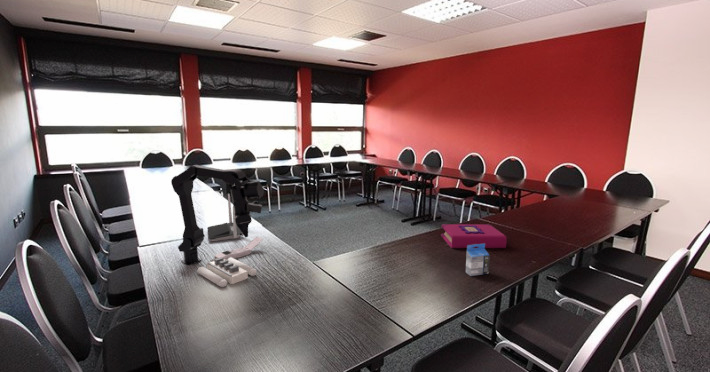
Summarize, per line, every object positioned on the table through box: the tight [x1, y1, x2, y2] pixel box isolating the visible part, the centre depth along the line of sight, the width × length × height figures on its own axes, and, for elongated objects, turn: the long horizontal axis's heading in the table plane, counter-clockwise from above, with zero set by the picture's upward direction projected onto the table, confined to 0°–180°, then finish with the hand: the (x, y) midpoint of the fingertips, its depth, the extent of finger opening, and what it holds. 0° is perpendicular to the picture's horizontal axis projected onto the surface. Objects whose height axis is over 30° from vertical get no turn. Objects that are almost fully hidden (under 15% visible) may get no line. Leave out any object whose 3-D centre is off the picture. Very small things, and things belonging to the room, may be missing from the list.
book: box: [440, 223, 508, 249], centre depth 179 cm, size 21×28×8 cm
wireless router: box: [206, 193, 248, 242], centre depth 188 cm, size 34×23×20 cm
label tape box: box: [465, 244, 491, 277], centre depth 140 cm, size 9×4×12 cm, turn 105°
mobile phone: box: [210, 236, 264, 262], centre depth 158 cm, size 6×6×25 cm
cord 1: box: [197, 266, 228, 288], centre depth 133 cm, size 20×3×3 cm, turn 49°
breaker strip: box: [206, 257, 249, 285], centre depth 138 cm, size 20×7×5 cm, turn 49°
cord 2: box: [228, 257, 257, 277], centre depth 143 cm, size 20×3×3 cm, turn 49°
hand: (246, 234), depth 144 cm, fingers open, 9 cm apart
